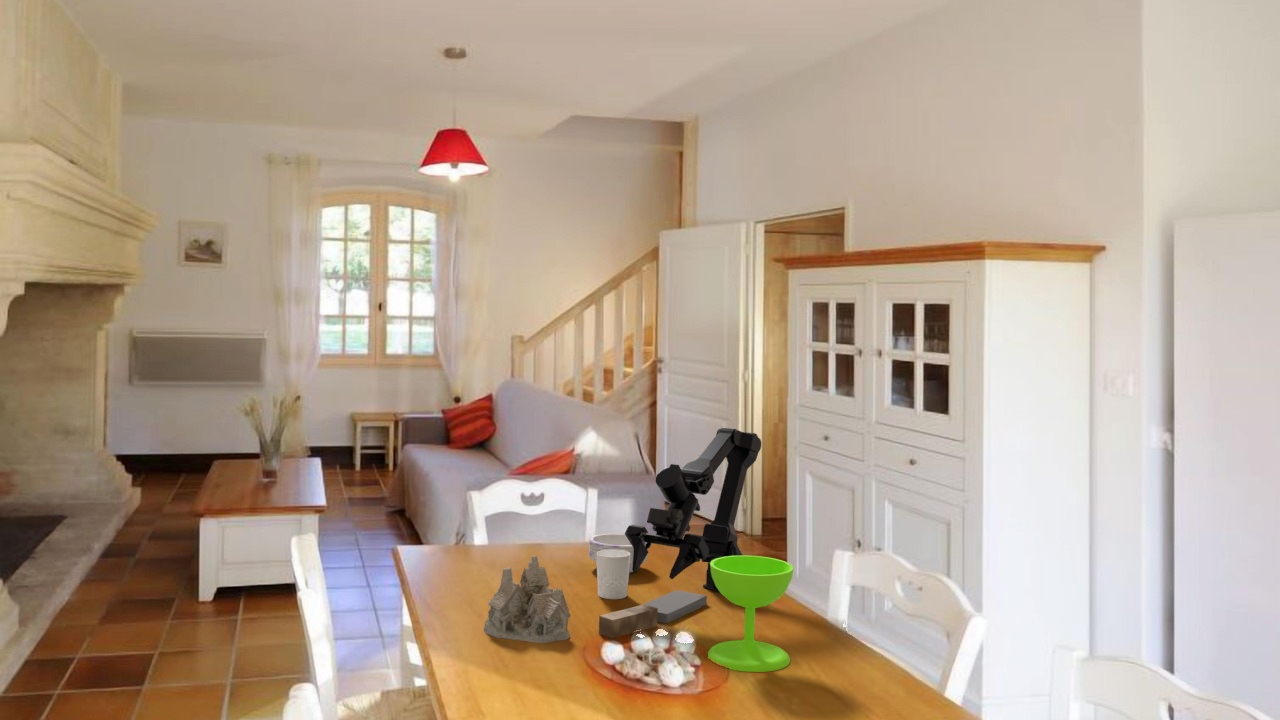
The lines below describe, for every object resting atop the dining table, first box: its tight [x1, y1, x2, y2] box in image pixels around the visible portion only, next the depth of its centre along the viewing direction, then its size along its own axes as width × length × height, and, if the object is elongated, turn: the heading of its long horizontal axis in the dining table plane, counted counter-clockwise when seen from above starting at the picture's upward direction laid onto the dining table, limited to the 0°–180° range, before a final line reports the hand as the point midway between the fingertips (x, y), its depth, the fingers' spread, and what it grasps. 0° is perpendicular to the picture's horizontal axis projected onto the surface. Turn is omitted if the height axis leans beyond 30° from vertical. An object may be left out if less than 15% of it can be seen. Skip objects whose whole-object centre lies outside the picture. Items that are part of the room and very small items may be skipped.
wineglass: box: [707, 554, 794, 673], centre depth 197 cm, size 16×16×18 cm
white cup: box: [596, 549, 631, 600], centre depth 238 cm, size 8×8×10 cm
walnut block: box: [598, 603, 658, 639], centre depth 213 cm, size 4×4×13 cm
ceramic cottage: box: [483, 555, 572, 644], centre depth 209 cm, size 16×16×15 cm
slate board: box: [642, 589, 708, 624], centre depth 227 cm, size 18×8×2 cm, turn 148°
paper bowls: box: [588, 533, 649, 574], centre depth 263 cm, size 15×15×8 cm
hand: (652, 574), depth 219 cm, fingers open, 9 cm apart
